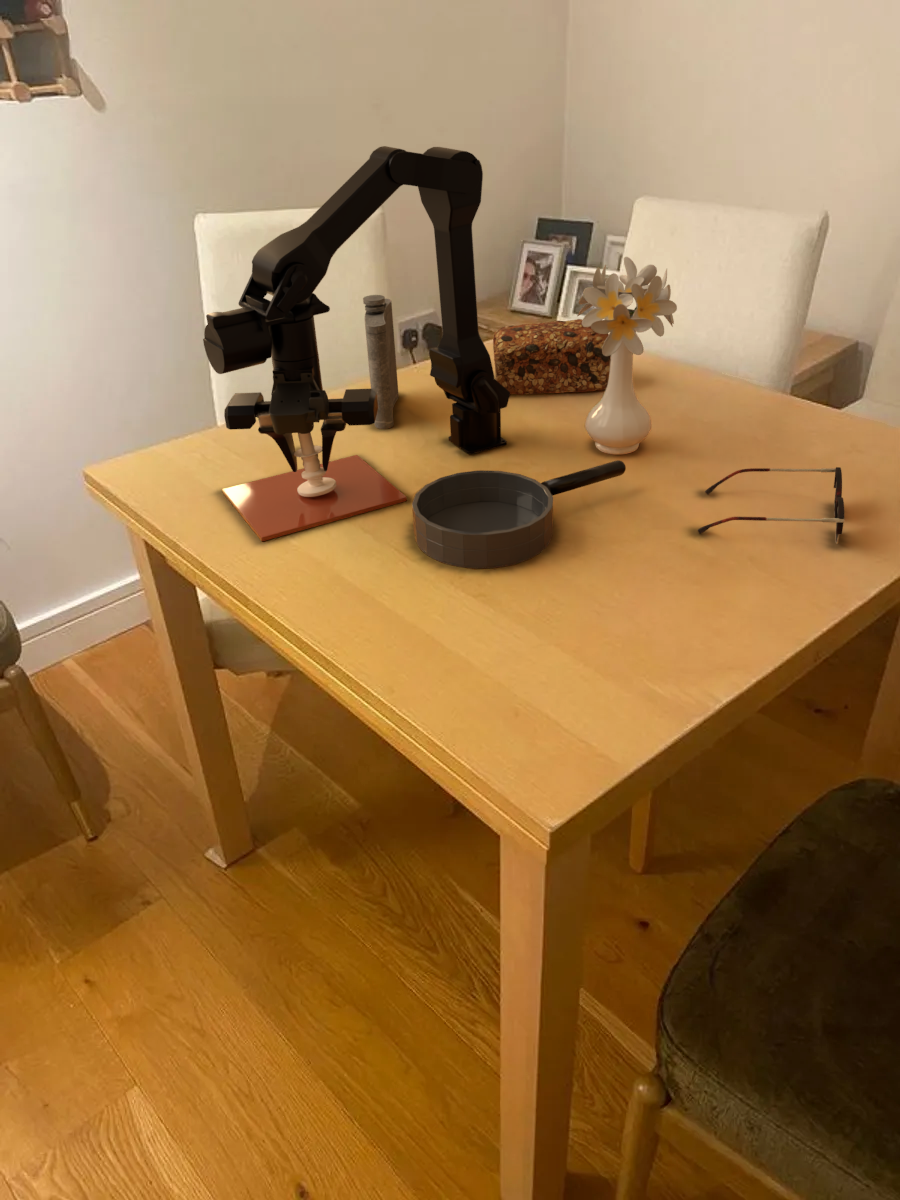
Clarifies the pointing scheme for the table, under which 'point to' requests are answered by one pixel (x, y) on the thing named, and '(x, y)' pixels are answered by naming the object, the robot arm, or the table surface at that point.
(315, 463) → the candle
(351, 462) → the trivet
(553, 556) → the table surface
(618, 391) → the flower vase
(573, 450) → the table surface
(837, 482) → the sunglasses
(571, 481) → the pan handle
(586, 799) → the table surface
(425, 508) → the pan
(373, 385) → the flask
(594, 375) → the bread
